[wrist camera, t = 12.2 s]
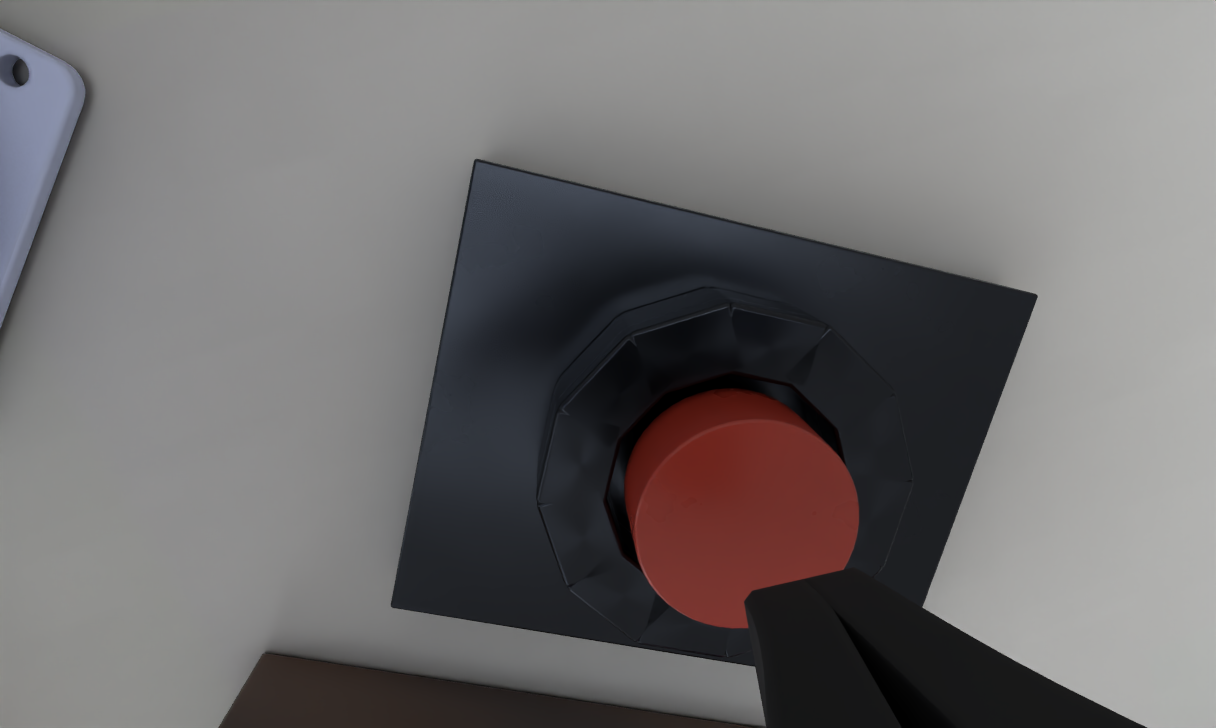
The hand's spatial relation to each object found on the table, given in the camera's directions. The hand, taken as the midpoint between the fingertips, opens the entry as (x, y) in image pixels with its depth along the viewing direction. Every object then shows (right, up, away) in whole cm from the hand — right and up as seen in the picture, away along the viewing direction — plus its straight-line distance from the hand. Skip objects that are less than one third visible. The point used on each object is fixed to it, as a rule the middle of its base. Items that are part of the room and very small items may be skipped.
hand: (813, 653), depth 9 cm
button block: (0, +2, +7) cm, 8 cm away
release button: (0, +1, +5) cm, 5 cm away
